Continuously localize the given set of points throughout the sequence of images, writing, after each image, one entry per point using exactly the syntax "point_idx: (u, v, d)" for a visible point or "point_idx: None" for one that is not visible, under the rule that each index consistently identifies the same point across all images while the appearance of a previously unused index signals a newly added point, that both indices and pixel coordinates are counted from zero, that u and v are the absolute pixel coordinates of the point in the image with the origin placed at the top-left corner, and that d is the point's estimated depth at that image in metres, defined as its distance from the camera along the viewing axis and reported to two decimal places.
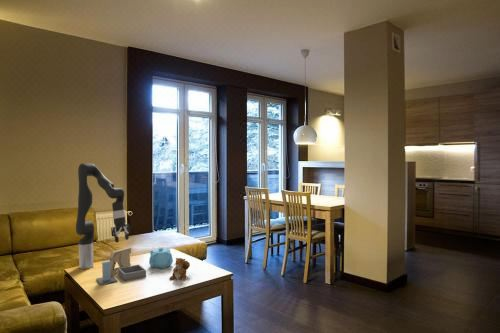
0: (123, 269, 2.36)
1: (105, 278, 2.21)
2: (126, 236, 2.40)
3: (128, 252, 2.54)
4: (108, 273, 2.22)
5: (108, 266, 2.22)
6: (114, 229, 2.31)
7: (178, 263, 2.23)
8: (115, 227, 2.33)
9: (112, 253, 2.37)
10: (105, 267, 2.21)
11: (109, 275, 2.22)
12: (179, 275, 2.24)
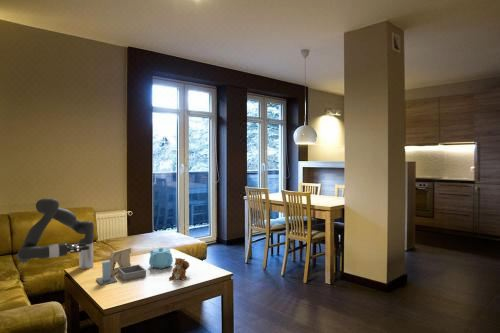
0: (123, 269, 2.36)
1: (105, 278, 2.21)
2: None
3: (128, 252, 2.54)
4: (108, 273, 2.22)
5: (108, 266, 2.22)
6: None
7: (178, 263, 2.23)
8: None
9: (112, 253, 2.37)
10: (105, 267, 2.21)
11: (109, 275, 2.22)
12: (179, 275, 2.24)
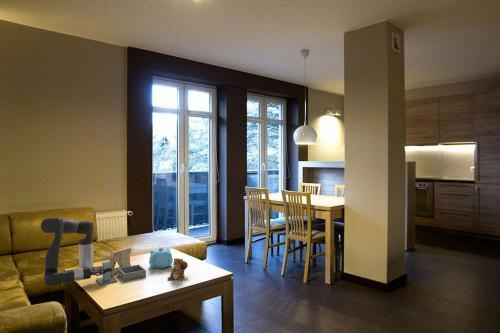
0: (123, 269, 2.36)
1: (105, 278, 2.21)
2: None
3: (128, 252, 2.54)
4: (108, 273, 2.22)
5: (108, 266, 2.22)
6: None
7: (176, 263, 2.22)
8: None
9: (112, 253, 2.37)
10: (105, 267, 2.21)
11: (109, 275, 2.22)
12: (177, 275, 2.23)
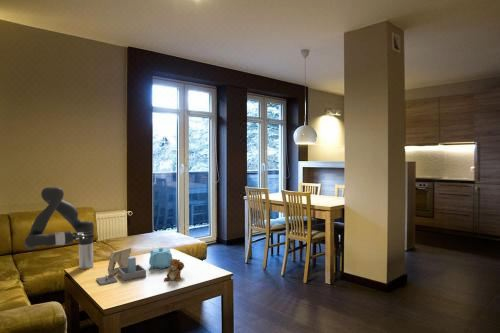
0: (123, 269, 2.36)
1: None
2: None
3: (128, 252, 2.54)
4: (133, 268, 2.31)
5: (134, 262, 2.31)
6: None
7: (173, 264, 2.21)
8: None
9: (112, 253, 2.37)
10: (131, 263, 2.30)
11: (134, 270, 2.32)
12: (174, 276, 2.22)
